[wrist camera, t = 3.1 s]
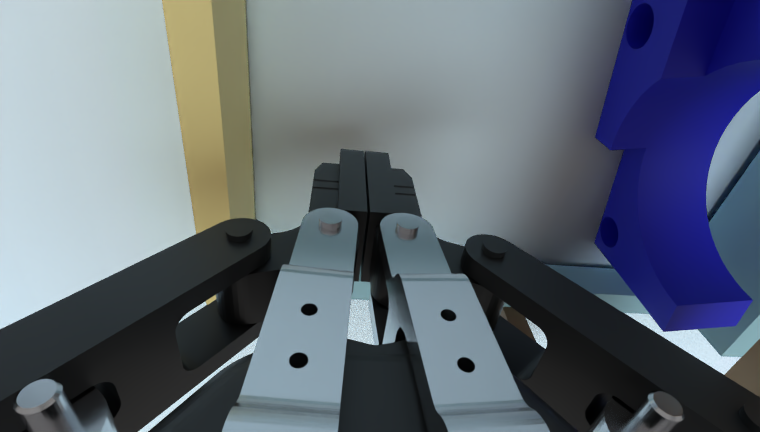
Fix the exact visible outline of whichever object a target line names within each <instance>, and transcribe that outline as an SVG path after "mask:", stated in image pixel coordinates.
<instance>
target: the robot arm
mask: <svg viewBox="0 0 760 432" xmlns="http://www.w3.org/2000/svg"><path fill="white" fill-rule="evenodd" d="M360 267H361V282H370V288H371V289H370V295H369V302H368V304H369V312H370V318H371V325H372V331H373V338H374V345H370V344H366V343H362V342H358V341H354V340H350V339H347V334H348V324H349V314H350V304H351V295H352V293H353V287H354V281H358V282H359V275H360ZM214 295H216V300H214V301H213V302H211V303H209V304H208V305H206V306H205V307H203V308H202V309H200V310H199V311H197V312H195V313H194V314H192V315H191V316H189V317H188V318H186V319H184V320H183V321H181V322H180V323H179V321H180V320H181V319H182V317H183V316H184V315H185V314H186V313H188V312H189V311H191V310H192V309H194V308H195V307H197V306H199V305H200V304H202V303H203V302H205V301H206V300H208V299H210V298H211V297H213V296H214ZM505 303H506V304H508V305H509V306H511V307H512V308H513V309H515V310H516V311H518V312H519V313H520V314H522V315H523V316H524V317H526V318H527V319H529V320H530V321H531V322H533V323H534V324H535V325H537V326H538V327H539V328H540V329H541V330H542V331H543V332H544V334H545V336H546V338H547V347H546V349H545V348H543V347H542V346H540V345H539V344H538V343H536V342H535V341H534V340H532V339H531V338H530V337H528V336H527V335H526V334H524V333H523V332H522V331H520V330H519V329H518V328H516V327H515V326H514V325H512V324H511V323H510V322H508V321H507V320H506V319H504V318H503V317H502V316H500V314H501V311H502V309H503V306H504V304H505ZM256 338H258V340H257V343H256V347H255V350H254V353H252V354H250V355H247V356H245V357H243V358H241V359H239V360H237V361H235V362H233V363H232V364H230V365H229V366H227V367H226V368H224V369H223V370H221V371H220V372H219V373H217V374H216V375H215V376H214V377H213V378H211V379H210V380H209V381H208V382H207V383H205V384H204V385H203V386H202V387H201V388H200V389H198V390H197V391H196V392H195V393H194V394H192V395H191V396H190V397H189V398H188V399H186V400H185V401H184V402H183V403H182V404H181V405H179V406H178V407H177V408H176V409H175V410H173V411H172V412H171V413H170V414H169V415H167V416H166V417H165V418H164V419H163V420H162V421H160V422H159V423H158V424H157V425H156V426H154V427H153V428H152V429H151V430H150V431H148V432H760V397H759V396H757V395H755V394H754V393H752V392H751V391H749V390H747V389H746V388H744V387H743V386H741V385H739V384H738V383H736V382H734V381H733V380H731V379H730V378H728V377H726V376H725V375H723V374H722V373H720V372H718V371H717V370H715V369H713V368H712V367H710V366H709V365H707V364H705V363H704V362H702V361H701V360H699V359H697V358H696V357H694V356H692V355H691V354H689V353H688V352H686V351H684V350H683V349H681V348H679V347H678V346H676V345H675V344H673V343H671V342H670V341H668V340H667V339H665V338H663V337H662V336H660V335H658V334H657V333H655V332H654V331H652V330H650V329H649V328H647V327H646V326H644V325H642V324H641V323H639V322H637V321H636V320H634V319H633V318H631V317H629V316H628V315H626V314H625V313H623V312H621V311H620V310H618V309H616V308H615V307H613V306H612V305H610V304H608V303H607V302H605V301H604V300H602V299H600V298H599V297H597V296H595V295H594V294H592V293H591V292H589V291H587V290H586V289H584V288H583V287H581V286H579V285H578V284H576V283H574V282H573V281H571V280H570V279H568V278H566V277H565V276H563V275H562V274H560V273H558V272H557V271H555V270H553V269H552V268H550V267H549V266H547V265H545V264H544V263H542V262H540V261H539V260H537V259H536V258H534V257H532V256H531V255H529V254H528V253H526V252H524V251H523V250H521V249H519V248H518V247H516V246H515V245H513V244H511V243H510V242H508V241H506V240H504V239H502V238H500V237H497V236H492V235H485V234H481V235H475V236H472V237H470V238H469V239H468V240H467V241H466V244H465V247H464V246H460V245H456V244H453V243H449V242H446V241H443V240H441V239H439V238H437V237H436V234H435V232H434V229H433V227H432V226H431V224H430V223H429V222H428V221H426V220H425V219H423V218H422V216H421V212H420V208H419V205H418V201H417V197H416V193H415V189H414V185H413V181H412V178H411V177H410V176H409V175H408V174H407V173H406V172H405V171H404V170H403V169H393V168H391V166H390V161H389V155H388V153H382V152H371V151H365V154H364V151H358V150H347V149H341V152H340V164H332V163H322V164H321V165H320V166H319V167H318V168H317V169H316V170H315V173H314V181H313V187H312V193H311V200H310V207H309V213H307V214H306V215H305V216H304V218H303V220H302V223H301V226H299V227H297V228H295V229H293V230H290V231H286V232H280V233H273V234H271V232H270V229H269V228H268V226H267V225H265V224H264V223H262V222H260V221H258V220H255V219H250V218H234V219H229V220H226V221H223V222H220V223H218V224H216V225H214V226H212V227H210V228H208V229H206V230H204V231H202V232H200V233H198V234H196V235H194V236H192V237H189V238H187V239H185V240H183V241H181V242H179V243H177V244H175V245H173V246H171V247H169V248H167V249H165V250H163V251H161V252H159V253H157V254H155V255H152V256H150V257H148V258H146V259H144V260H142V261H140V262H138V263H136V264H134V265H132V266H130V267H128V268H126V269H124V270H122V271H120V272H118V273H115V274H113V275H111V276H109V277H107V278H105V279H103V280H101V281H99V282H97V283H95V284H93V285H91V286H89V287H87V288H85V289H83V290H80V291H78V292H76V293H74V294H72V295H70V296H68V297H66V298H64V299H62V300H60V301H58V302H56V303H54V304H52V305H50V306H48V307H46V308H43V309H41V310H39V311H37V312H35V313H33V314H31V315H29V316H27V317H25V318H23V319H21V320H19V321H17V322H15V323H13V324H11V325H8V326H6V327H4V328H2V329H0V432H138V431H139V430H140V429H142V428H143V427H144V426H145V425H147V424H148V423H149V422H151V421H152V420H153V419H154V418H156V417H157V416H158V415H159V414H161V413H162V412H163V411H165V410H166V409H167V408H168V407H170V406H171V405H172V404H173V403H175V402H176V401H177V400H179V399H180V398H181V397H182V396H184V395H185V394H186V393H188V392H189V391H190V390H191V389H193V388H194V387H195V386H196V385H198V384H199V383H200V382H202V381H203V380H204V379H205V378H207V377H208V376H209V375H210V374H212V373H213V372H214V371H216V370H217V369H218V368H219V367H221V366H222V365H223V364H224V363H226V362H227V361H228V360H230V359H231V358H232V357H233V356H235V355H236V354H237V353H238V352H240V351H241V350H242V349H244V348H245V347H246V346H247V345H249V344H250V343H251V342H252V341H254V340H255V339H256Z"/></svg>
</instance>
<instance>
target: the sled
mask: <svg viewBox="0 0 760 432" xmlns="http://www.w3.org/2000/svg"><path fill="white" fill-rule="evenodd" d="M162 3H163V10H164V17H165V24H166V30H167V37H168V44H169V51H170V58H171V65H172V71H173V78H174V85H175V92H176V99H177V105H178V112H179V119H180V126H181V133H182V140H183V146H184V153H185V160H186V167H187V174H188V180H189V187H190V194H191V201H192V208H193V215H194V221H195V228H196V234H198V233H200V232H202V231H204V230H206V229H208V228H210V227H212V226H214V225H216V224H218V223H220V222H223V221H226V220H229V219H234V218H250V219H255V201H254V179H253V157H252V136H251V114H250V92H249V71H248V49H247V27H246V5H245V0H162ZM709 228H710V231H711V235H712V238H713V241H714V243H715V246H716V249H717V251H718V253H719V255H720V257H721V259H722V261H723V263H724V264H725V266H726V268H727V270H728V271H729V272H730V274H731V275H732V277H733V278H734V280H735V281H736V282H737V283H738V284H739V286H740V287H741V288H742V289H743V290H744V291H745V292H746V293H747V294H748V295H749V296H750V297H751V298H752V299H753V301H752V303H751V304H750V306H749V307H748V309H747V310H746V312H745V313H744V315H743V316H742V318H741V319H740V321H739V322H738V324H737V325H736V326H731V327H718V328H705V329H698V330H699V331H700V332H701V334H702V335H703V336H704V337H705V338H706V339H707V340H708V342H709V343H710V344H711V345H712V346H713V347H714V349H715V350H716V351H717V352H718V353H719V354H720V355H721V356H729V357H742V356H743V355H744V354H745V353H746V352H747V351H748V350H749V349H750V348H751V347H752V346H753V345H754V344H755V343H756V342H757V341H758V340H759V339H760V151H759V152H758V154H757V155H756V157H755V158H754V159H753V161H752V162H751V164H750V165H749V166H748V168H747V169H746V171H745V172H744V174H743V175H742V176H741V178H740V179H739V181H738V182H737V184H736V185H735V186H734V188H733V189H732V191H731V192H730V193H729V195H728V196H727V198H726V199H725V201H724V202H723V203H722V205H721V206H720V208H719V209H718V211H717V212H716V213H715V215H714V216H713V218H712V219H711V220H710V222H709ZM547 266H549V267H550V268H552V269H553V270H555V271H557V272H558V273H560V274H562V275H563V276H565V277H566V278H568V279H570V280H571V281H573V282H574V283H576V284H578V285H579V286H581V287H583V288H584V289H586V290H587V291H589V292H591V293H592V294H594V295H595V296H597V297H599V298H600V299H602V300H604V301H605V302H607V303H608V304H610V305H612V306H613V307H615V308H616V309H618V310H620V311H621V312H623V313H641V314H649V312H648V311H647V310H646V309H645V307H644V306H643V305H642V303H641V302H640V301H639V300H638V298H637V297H636V296H635V294H634V293H633V292H632V291H631V289H630V288H629V287H628V285H627V284H626V283H625V282H624V280H623V279H622V278H621V276H620V275H619V274H618V273H617V271H616V270H615V269H608V268H592V267H577V266H561V265H547ZM370 289H371V288H370V282H361V267H360V275H359V282H358V281H354V287H353V293H352V295H351V299H361V300H369V295H370ZM214 300H216V295H214V296H213V297H211V298H210V299H208V300H206V303H207V305H208V304H209V303H211V302H213V301H214ZM503 307H511V306H509V305H508V304H506V303H505V304H504V306H503Z"/></svg>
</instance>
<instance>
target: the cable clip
mask: <svg viewBox="0 0 760 432" xmlns="http://www.w3.org/2000/svg"><path fill="white" fill-rule="evenodd" d="M759 91H760V0H632V3H631V7H630V11H629V14H628V18H627V22H626V25H625V29H624V33H623V36H622V40H621V44H620V47H619V51H618V55H617V58H616V62H615V66H614V69H613V73H612V77H611V80H610V84H609V88H608V91H607V95H606V99H605V102H604V106H603V110H602V113H601V117H600V121H599V124H598V128H597V132H596V135H595V138H596V139H598V140H599V141H600V142H601V143H602V144H604V145H605V146H606V147H607V148H608V149H609V150H624V152H623V155H622V158H621V161H620V164H619V167H618V170H617V173H616V177H615V180H614V183H613V186H612V189H611V192H610V195H609V198H608V201H607V205H606V208H605V211H604V214H603V217H602V220H601V223H600V226H599V229H598V233H597V236H596V239H595V242H594V243H595V244H596V246H597V247H598V248H599V249H600V251H601V252H602V253H603V255H604V256H605V257H606V258H607V260H608V261H609V262H610V264H611V265H612V266H613V267H614V269H615V270H616V271H617V273H618V274H619V275H620V276H621V278H622V279H623V280H624V282H625V283H626V284H627V285H628V287H629V288H630V289H631V291H632V292H633V293H634V294H635V296H636V297H637V298H638V300H639V301H640V302H641V303H642V305H643V306H644V307H645V309H646V310H647V311H648V312H649V314H650V315H651V316H652V318H653V319H654V320H655V321H656V323H657V324H658V325H659V327H660V328H661V329H662V330H663V332H666V331H679V330H692V329H705V328H718V327H731V326H736V325H737V324H738V322H739V321H740V319H741V318H742V316H743V315H744V313H745V312H746V310H747V309H748V307H749V306H750V304H751V303H752V301H753V299H752V298H751V297H750V296H749V295H748V294H747V293H746V292H745V291H744V290H743V289H742V288H741V287H740V286H739V284H738V283H737V282H736V281H735V280H734V278H733V277H732V275H731V274H730V272H729V271H728V270H727V268H726V266H725V264H724V263H723V261H722V259H721V257H720V255H719V253H718V251H717V249H716V246H715V243H714V241H713V238H712V235H711V231H710V228H709V223H708V218H707V209H706V185H707V177H708V171H709V167H710V163H711V159H712V157H713V154H714V151H715V148H716V146H717V144H718V142H719V140H720V137H721V136H722V134H723V132H724V130H725V129H726V127H727V126H728V124H729V123H730V121H731V120H732V118H733V117H734V116H735V115H736V113H737V112H738V111H739V110H740V109H741V107H742V106H743V105H744V104H745V103H746V102H747V101H748V100H749V99H750V98H751V97H753V96H754V95H755V94H756V93H758V92H759Z"/></svg>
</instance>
